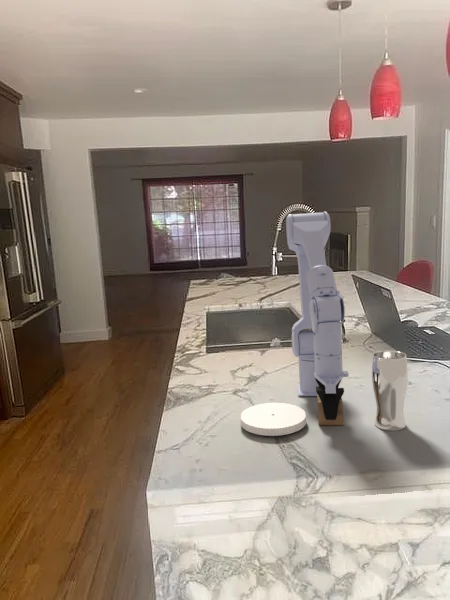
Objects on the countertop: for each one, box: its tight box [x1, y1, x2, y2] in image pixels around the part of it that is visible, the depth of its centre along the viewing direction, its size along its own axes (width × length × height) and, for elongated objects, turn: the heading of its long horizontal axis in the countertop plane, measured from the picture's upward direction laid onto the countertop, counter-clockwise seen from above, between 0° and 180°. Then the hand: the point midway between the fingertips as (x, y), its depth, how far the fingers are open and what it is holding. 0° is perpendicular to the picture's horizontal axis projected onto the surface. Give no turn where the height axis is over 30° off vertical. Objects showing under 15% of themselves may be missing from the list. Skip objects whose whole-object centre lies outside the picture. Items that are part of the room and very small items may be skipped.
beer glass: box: [371, 349, 409, 432], centre depth 101 cm, size 7×7×15 cm
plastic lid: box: [239, 402, 307, 437], centre depth 107 cm, size 14×14×2 cm
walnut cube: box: [316, 394, 344, 426], centre depth 106 cm, size 5×5×5 cm
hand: (330, 413), depth 106 cm, fingers closed on walnut cube, 5 cm apart
